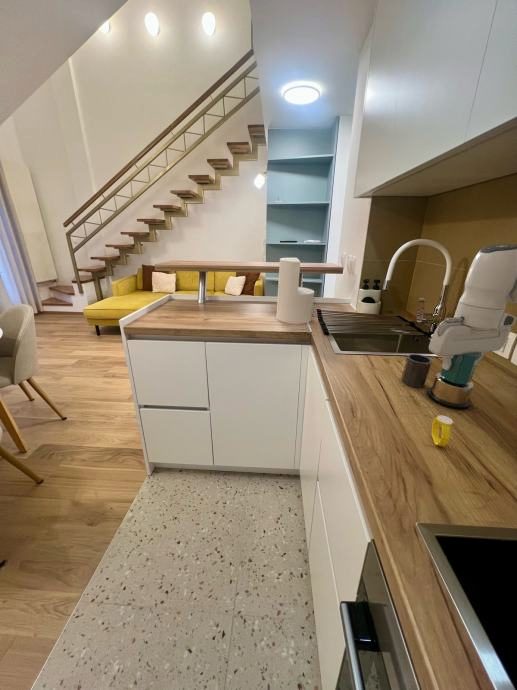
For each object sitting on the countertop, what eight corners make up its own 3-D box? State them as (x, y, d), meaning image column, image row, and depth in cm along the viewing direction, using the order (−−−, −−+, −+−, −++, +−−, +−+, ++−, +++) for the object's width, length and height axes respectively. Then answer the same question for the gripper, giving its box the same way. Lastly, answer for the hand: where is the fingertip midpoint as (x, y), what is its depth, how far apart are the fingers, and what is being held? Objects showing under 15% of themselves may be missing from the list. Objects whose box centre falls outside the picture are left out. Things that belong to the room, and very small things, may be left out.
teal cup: (462, 374, 75) (472, 347, 72) (473, 385, 70) (485, 357, 67) (437, 371, 77) (446, 344, 73) (446, 382, 71) (456, 354, 68)
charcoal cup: (420, 378, 86) (427, 355, 82) (427, 389, 80) (435, 364, 77) (399, 376, 87) (405, 352, 84) (404, 386, 81) (410, 361, 78)
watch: (426, 430, 63) (433, 409, 61) (440, 433, 63) (447, 411, 60) (433, 449, 58) (441, 426, 56) (448, 452, 57) (457, 429, 55)
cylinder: (276, 322, 131) (280, 261, 120) (276, 312, 147) (279, 257, 136) (313, 324, 131) (320, 262, 120) (308, 313, 146) (314, 258, 135)
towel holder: (460, 391, 79) (476, 346, 74) (477, 412, 70) (497, 363, 65) (422, 386, 81) (435, 342, 76) (434, 406, 72) (450, 358, 67)
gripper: (453, 322, 61) (436, 377, 67) (522, 318, 66) (500, 369, 72) (430, 314, 67) (416, 365, 72) (495, 310, 72) (477, 358, 77)
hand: (458, 367), depth 72 cm, fingers closed on teal cup, 6 cm apart
